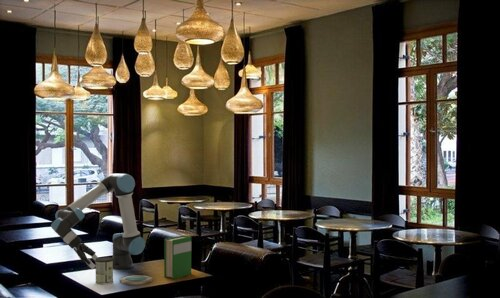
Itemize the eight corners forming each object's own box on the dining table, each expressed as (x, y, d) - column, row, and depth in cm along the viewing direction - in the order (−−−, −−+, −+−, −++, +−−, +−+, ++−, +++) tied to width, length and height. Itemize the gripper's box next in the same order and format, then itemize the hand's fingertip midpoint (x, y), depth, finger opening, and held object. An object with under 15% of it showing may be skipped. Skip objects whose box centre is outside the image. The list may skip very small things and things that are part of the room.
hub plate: (115, 280, 339) (115, 277, 339) (144, 276, 350) (144, 273, 350) (127, 286, 324) (127, 283, 324) (157, 282, 334) (157, 279, 334)
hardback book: (173, 279, 343) (173, 240, 343) (164, 277, 347) (164, 239, 347) (191, 273, 358) (191, 236, 358) (182, 272, 362) (182, 235, 362)
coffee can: (99, 280, 340) (99, 256, 340) (115, 280, 338) (115, 257, 339) (92, 284, 329) (92, 260, 329) (109, 284, 328) (109, 260, 328)
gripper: (74, 241, 346) (98, 265, 346) (60, 247, 321) (86, 274, 321) (83, 232, 346) (107, 257, 346) (70, 238, 321) (95, 265, 321)
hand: (97, 265), depth 333 cm, fingers open, 13 cm apart
